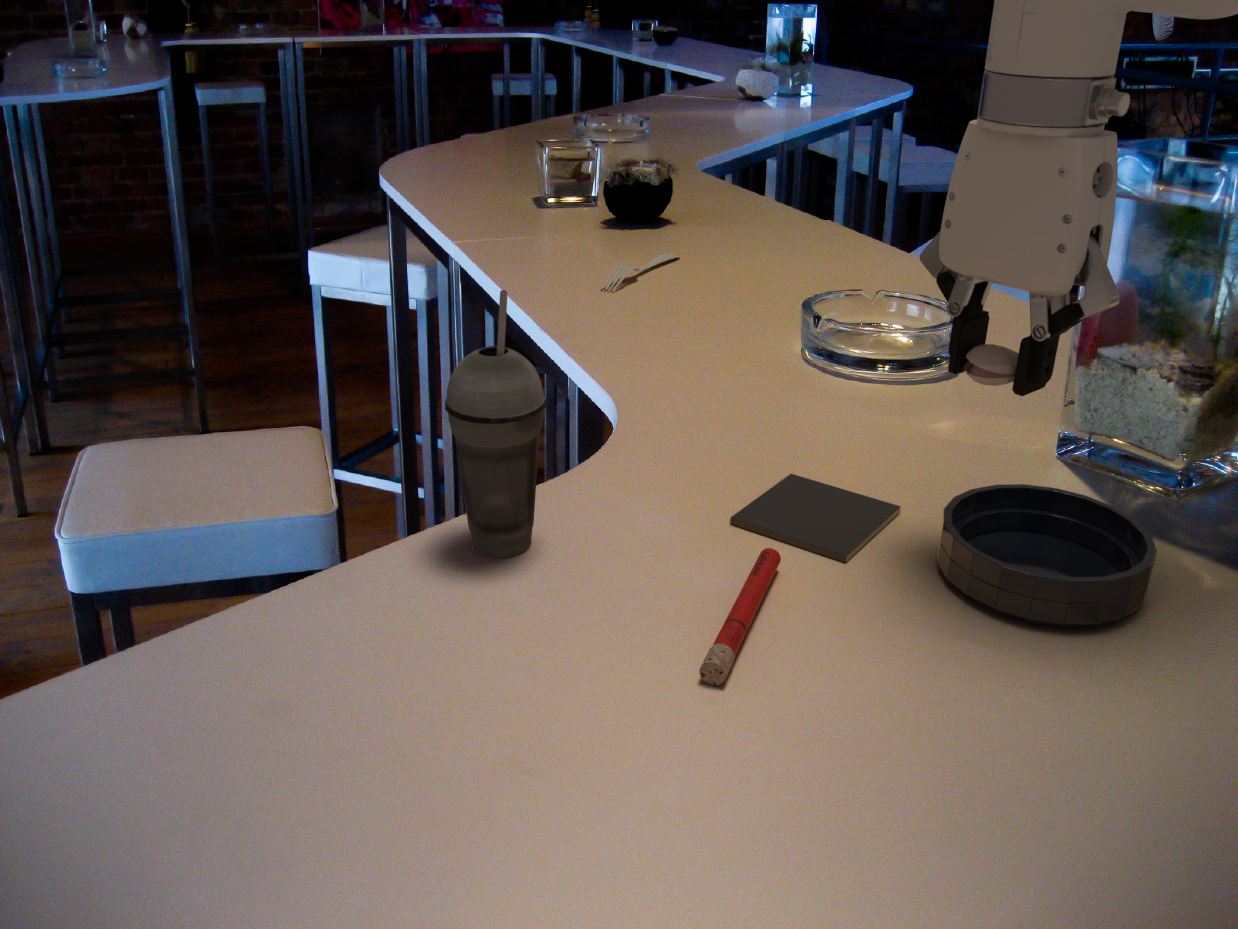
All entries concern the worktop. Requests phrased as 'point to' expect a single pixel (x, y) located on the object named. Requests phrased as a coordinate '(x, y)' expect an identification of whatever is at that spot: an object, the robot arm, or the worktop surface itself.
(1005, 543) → the bowl
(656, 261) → the fork
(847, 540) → the coaster
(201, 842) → the worktop surface
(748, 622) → the flare
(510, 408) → the beverage cup
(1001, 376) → the clam shell
